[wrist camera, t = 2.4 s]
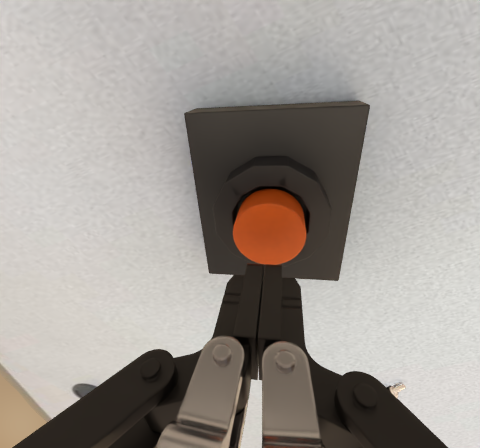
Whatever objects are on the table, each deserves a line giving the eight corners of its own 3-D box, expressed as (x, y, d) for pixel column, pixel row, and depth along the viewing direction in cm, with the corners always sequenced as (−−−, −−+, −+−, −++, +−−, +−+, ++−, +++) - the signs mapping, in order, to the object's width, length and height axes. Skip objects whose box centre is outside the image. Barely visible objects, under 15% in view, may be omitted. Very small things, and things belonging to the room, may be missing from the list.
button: (236, 187, 15) (229, 203, 13) (306, 188, 14) (309, 204, 13) (240, 244, 17) (235, 263, 15) (301, 246, 16) (303, 267, 15)
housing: (195, 108, 16) (171, 117, 13) (359, 100, 15) (382, 108, 11) (215, 257, 22) (202, 289, 19) (333, 262, 21) (343, 299, 17)
